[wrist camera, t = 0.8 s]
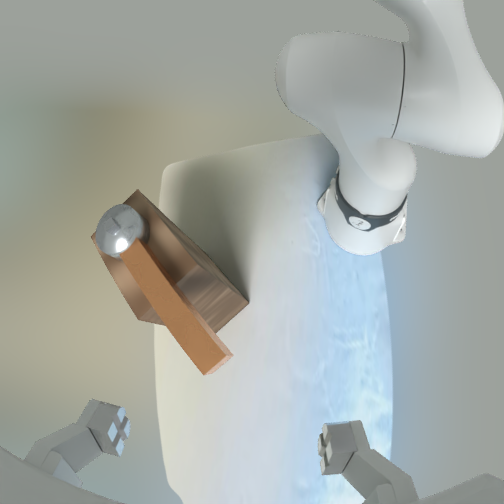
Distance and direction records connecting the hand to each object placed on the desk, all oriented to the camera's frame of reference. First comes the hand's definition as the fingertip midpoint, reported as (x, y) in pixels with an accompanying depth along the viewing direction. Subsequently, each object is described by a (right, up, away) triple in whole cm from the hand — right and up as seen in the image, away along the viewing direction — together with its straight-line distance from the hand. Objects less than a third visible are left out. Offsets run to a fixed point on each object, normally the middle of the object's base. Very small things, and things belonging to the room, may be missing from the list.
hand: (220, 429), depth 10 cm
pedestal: (-7, -1, +46) cm, 47 cm away
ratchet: (-9, +4, +20) cm, 22 cm away
